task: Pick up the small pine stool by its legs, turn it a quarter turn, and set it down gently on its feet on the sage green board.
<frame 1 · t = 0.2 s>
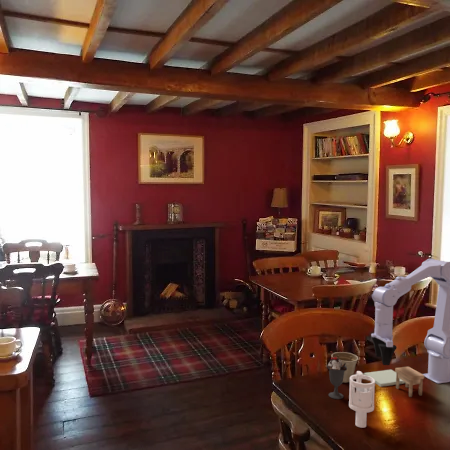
hand: (382, 360, 158), 10 cm above the table, tool pointing down, fingers open, 7 cm apart
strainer: (360, 425, 134), on the table
flower pot: (344, 380, 166), on the table
stool: (408, 391, 157), on the table
sundae: (335, 396, 153), on the table
board: (386, 379, 167), on the table
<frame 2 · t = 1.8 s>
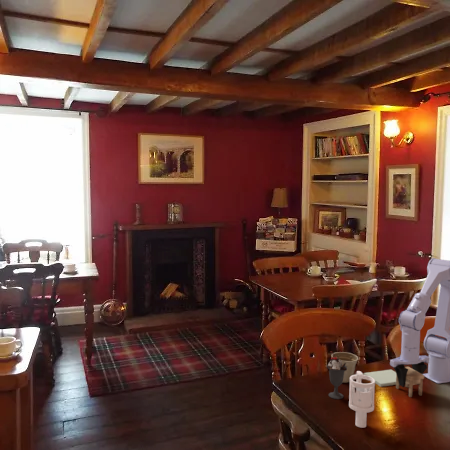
hand: (408, 384, 157), 2 cm above the table, tool pointing down, fingers closed on stool, 5 cm apart
stool: (408, 391, 157), on the table, touching gripper
everything else where it was.
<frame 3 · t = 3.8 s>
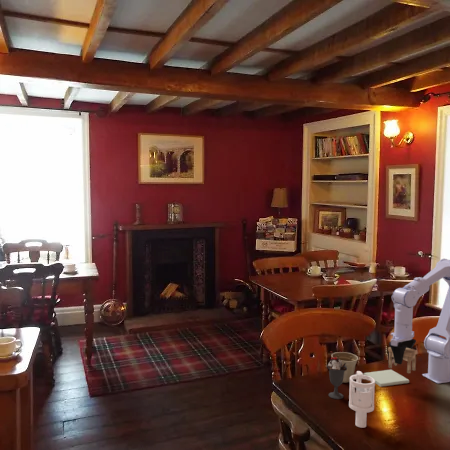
hand: (402, 361, 159), 9 cm above the table, tool pointing down, fingers closed on stool, 5 cm apart
stool: (401, 368, 159), point 7 cm above the table, touching gripper
everything else where it was.
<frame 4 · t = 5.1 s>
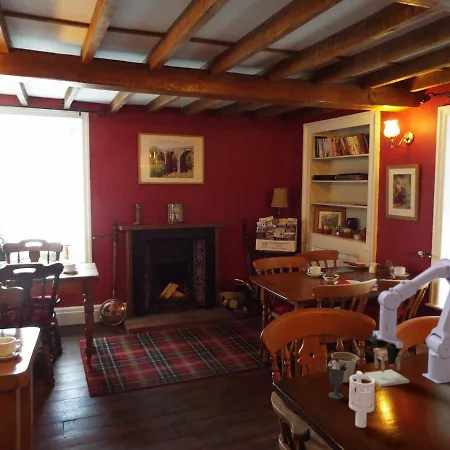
hand: (386, 361, 166), 7 cm above the table, tool pointing down, fingers closed on stool, 5 cm apart
stool: (387, 368, 167), point 4 cm above the table, touching gripper
everything else where it was.
when the fingers open (5 cm above the table, at t = 6.0 s): stool drops 1 cm, resting on board.
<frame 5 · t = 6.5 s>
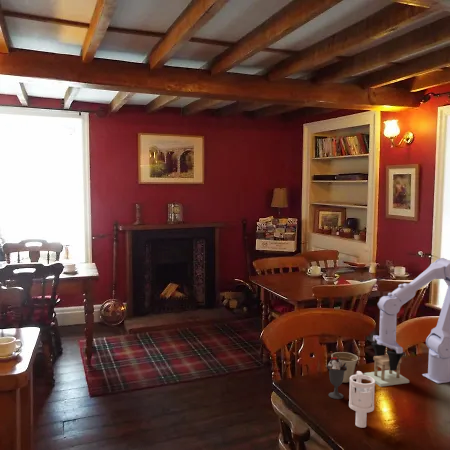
hand: (386, 366, 167), 5 cm above the table, tool pointing down, fingers open, 7 cm apart
stool: (386, 376, 167), point 1 cm above the table, touching board
everything else where it was.
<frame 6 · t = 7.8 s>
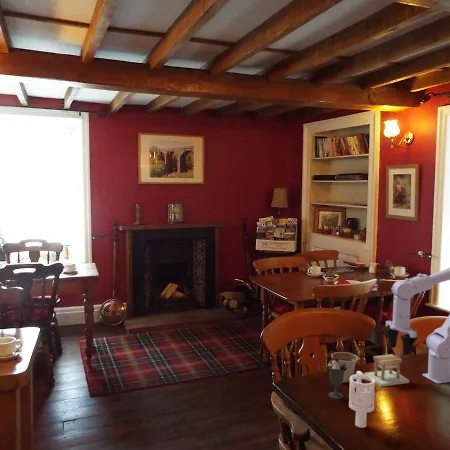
hand: (399, 351, 167), 10 cm above the table, tool pointing down, fingers open, 7 cm apart
nothing on the table moved.
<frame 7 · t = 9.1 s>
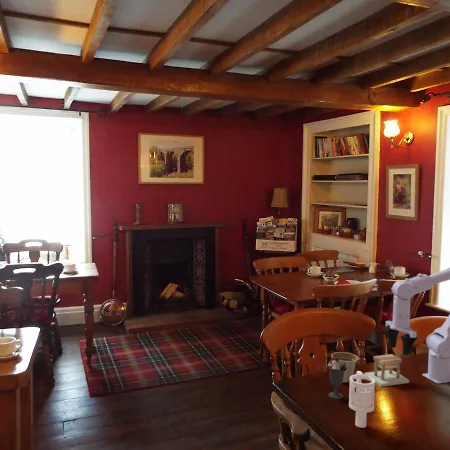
hand: (399, 351, 167), 10 cm above the table, tool pointing down, fingers open, 7 cm apart
nothing on the table moved.
at the end: stool 0.2 cm off-centre on the board, point 1.0 cm above the board's base; stool tilted 0°; the gripper is holding nothing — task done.
